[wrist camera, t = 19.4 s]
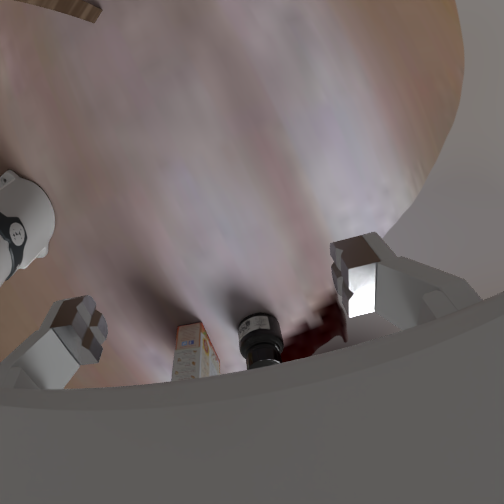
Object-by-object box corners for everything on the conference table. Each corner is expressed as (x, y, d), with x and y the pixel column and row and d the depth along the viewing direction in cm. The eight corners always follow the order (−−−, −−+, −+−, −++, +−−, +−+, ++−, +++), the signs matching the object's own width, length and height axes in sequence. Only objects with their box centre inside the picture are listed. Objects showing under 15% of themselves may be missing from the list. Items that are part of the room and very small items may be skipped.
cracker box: (175, 325, 65) (166, 408, 48) (202, 320, 65) (200, 405, 47) (196, 365, 73) (194, 441, 55) (220, 361, 72) (223, 438, 55)
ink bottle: (259, 304, 64) (266, 347, 54) (288, 323, 68) (299, 365, 58) (228, 330, 67) (230, 374, 57) (257, 347, 71) (263, 389, 61)
